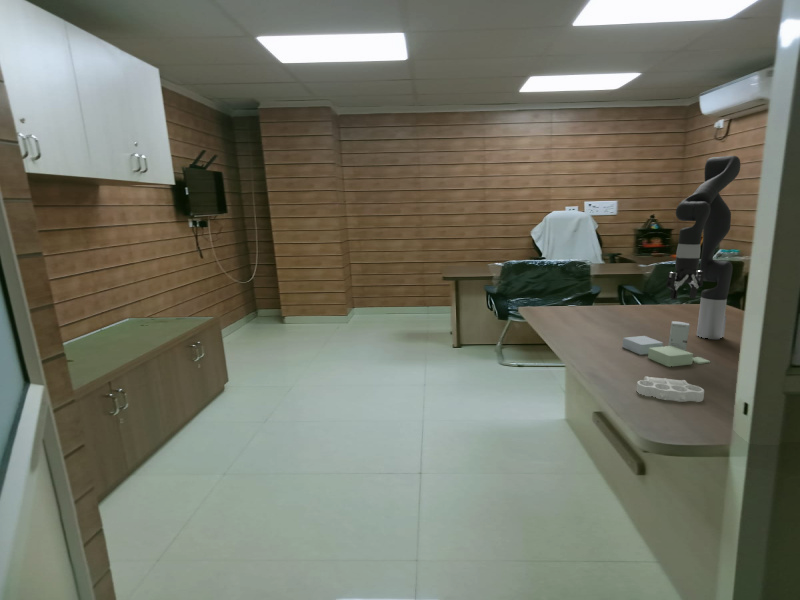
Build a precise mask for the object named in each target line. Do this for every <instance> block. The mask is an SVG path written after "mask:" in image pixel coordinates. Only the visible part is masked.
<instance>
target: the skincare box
mask: <svg viewBox="0 0 800 600" xmlns="http://www.w3.org/2000/svg"><path fill="white" fill-rule="evenodd" d="M670 324H671V325H670V332H669V340H668V346H674V347H676V348H679V349H682V350H684V351H687V346H688V339H689V333H690V326H691V325H690V323H689V322H685V321H684V322H682V321H673V320H671V323H670Z"/></svg>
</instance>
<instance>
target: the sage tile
mask: <svg viewBox="0 0 800 600" xmlns="http://www.w3.org/2000/svg"><path fill="white" fill-rule="evenodd" d="M692 363H695V364H698V365H704V364H710V363H711V361H710V360H708V359H705V358H704V357H700V356H696V357H694V356H693V359H692Z"/></svg>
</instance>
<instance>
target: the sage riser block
mask: <svg viewBox="0 0 800 600" xmlns="http://www.w3.org/2000/svg"><path fill="white" fill-rule="evenodd" d="M693 357H694V353H692V352H689V351H687V350H686V351H684V350H682V349H679V348H676V347H674V346H669V345H666V346H664V345H663V347H653V348H649V353H648V354H647V358H648V359H649V360H652V361H653V362H656V363H659V364H661V365H663V366H666V367H669V368H672V367H678V366H687V365H689V366H690V365H693V362H692V359H693ZM671 366H672V367H671Z"/></svg>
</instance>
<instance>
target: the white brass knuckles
mask: <svg viewBox="0 0 800 600" xmlns="http://www.w3.org/2000/svg"><path fill="white" fill-rule="evenodd" d="M636 391H637V392H638V393H639V394H638V393H637V392H636V393H637V394H638V395H640V394H642V395H641V396H643V395H645V396H644V397H651V396H653V397H652V398H655V397H656V399H659V400H664V401H674V402H680V403H681V402H683V403H685V402H696V403H699V402H703V401H704V398H705V397H704V396H705V389H704V388H702V387H700V386H699V385H694V384H691V383H688V382H687V380H685V379H673V378H672V379H671V378H666V377H664V378H661V377H651V376H647V375H646V376H644V377H643V379H640V380H638V381H637V382H636Z"/></svg>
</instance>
